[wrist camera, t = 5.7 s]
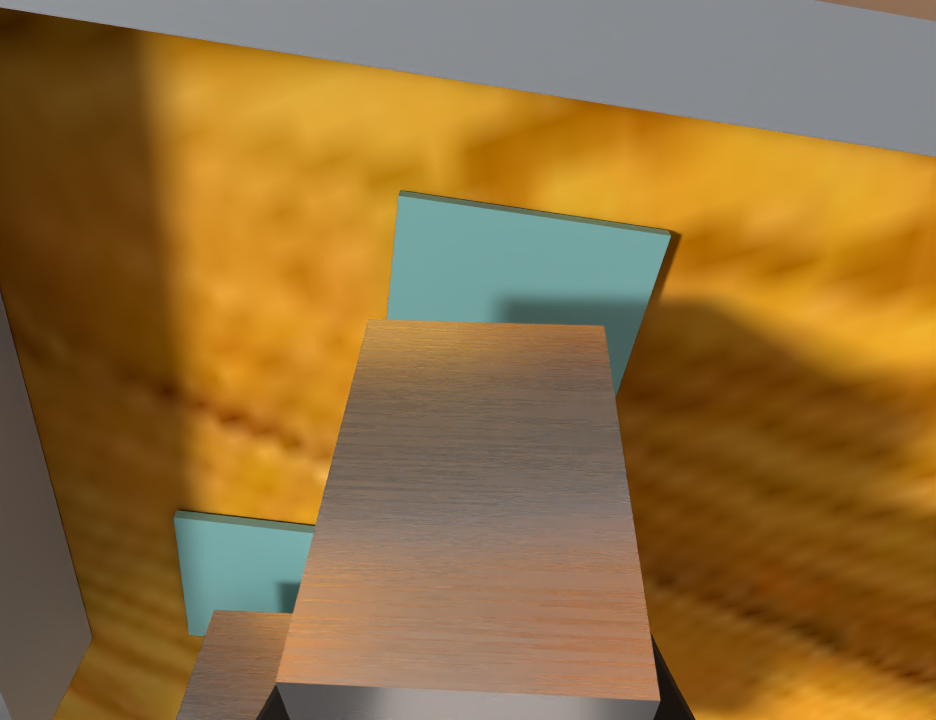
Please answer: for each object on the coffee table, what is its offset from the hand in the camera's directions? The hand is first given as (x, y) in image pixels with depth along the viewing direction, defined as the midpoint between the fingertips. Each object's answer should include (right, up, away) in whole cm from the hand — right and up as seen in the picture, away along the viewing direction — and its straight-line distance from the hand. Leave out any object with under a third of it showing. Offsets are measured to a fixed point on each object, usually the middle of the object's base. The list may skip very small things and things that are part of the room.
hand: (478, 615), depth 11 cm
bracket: (-2, 0, +2) cm, 3 cm away
